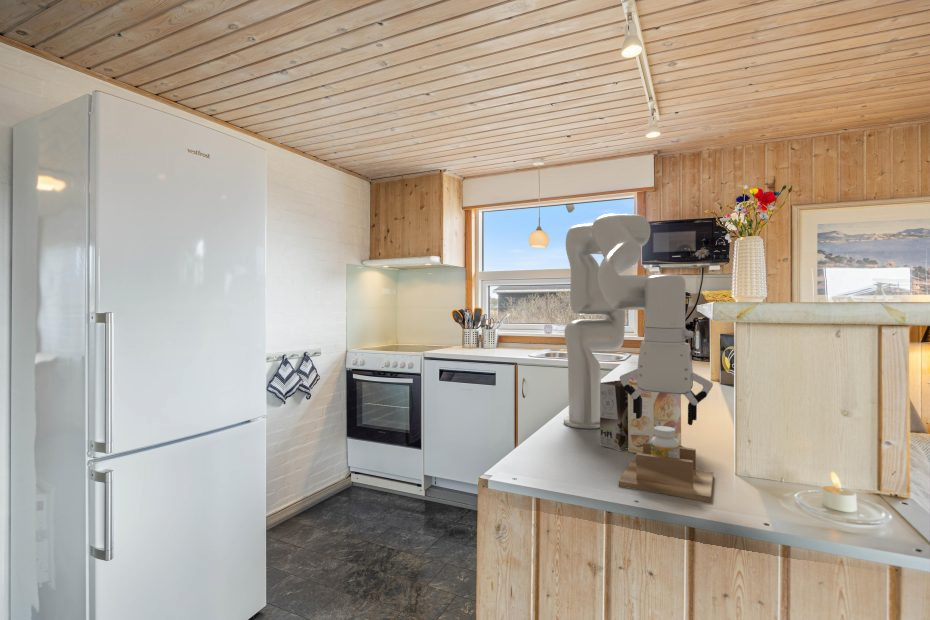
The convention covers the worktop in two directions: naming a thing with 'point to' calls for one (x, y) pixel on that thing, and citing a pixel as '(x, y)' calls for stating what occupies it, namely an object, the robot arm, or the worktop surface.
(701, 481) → the holder
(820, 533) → the worktop surface
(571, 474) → the worktop surface
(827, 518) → the worktop surface
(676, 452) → the supplement bottle
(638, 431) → the coffeecake box
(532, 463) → the worktop surface
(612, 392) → the coffee box
